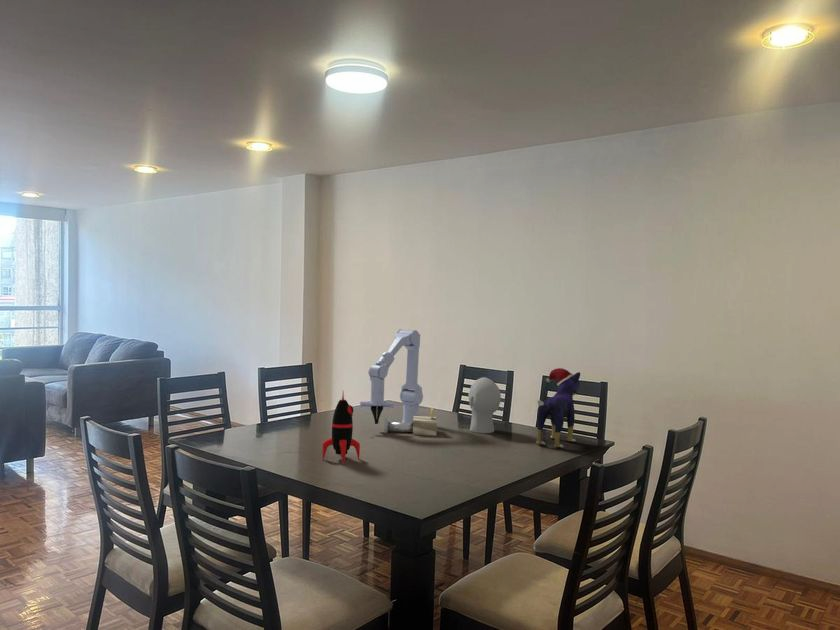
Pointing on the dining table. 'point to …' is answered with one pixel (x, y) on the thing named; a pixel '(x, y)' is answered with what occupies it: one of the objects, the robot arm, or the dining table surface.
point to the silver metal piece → (397, 426)
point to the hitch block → (424, 425)
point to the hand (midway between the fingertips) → (376, 423)
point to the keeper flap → (431, 413)
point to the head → (483, 404)
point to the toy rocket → (342, 430)
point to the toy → (559, 406)
